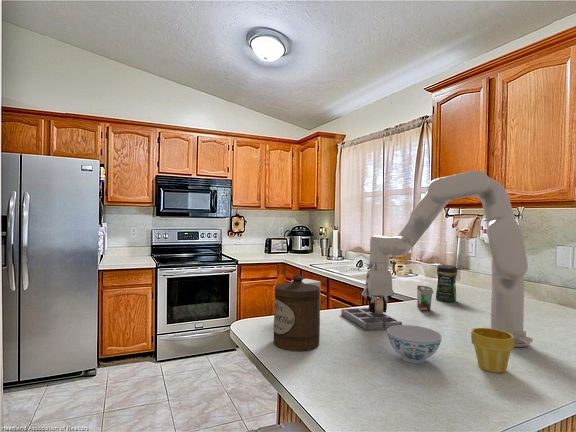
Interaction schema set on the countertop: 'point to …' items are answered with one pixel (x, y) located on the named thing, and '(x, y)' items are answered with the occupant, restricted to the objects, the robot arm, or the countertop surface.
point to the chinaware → (414, 342)
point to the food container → (424, 297)
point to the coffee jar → (446, 283)
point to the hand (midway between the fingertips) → (377, 311)
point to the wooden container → (297, 315)
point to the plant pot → (492, 348)
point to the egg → (378, 305)
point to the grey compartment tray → (369, 319)
